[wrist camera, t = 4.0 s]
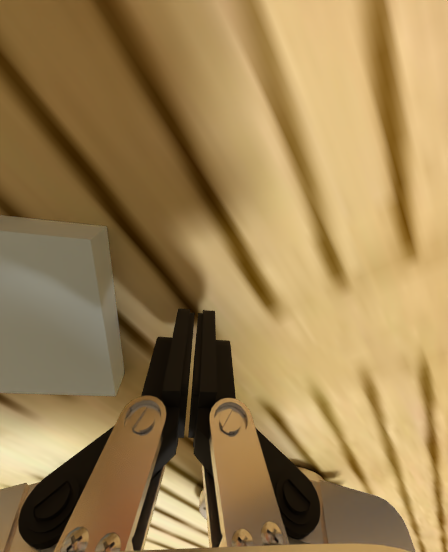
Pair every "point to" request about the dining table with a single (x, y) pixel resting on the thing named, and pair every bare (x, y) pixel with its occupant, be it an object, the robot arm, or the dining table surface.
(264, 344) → the dining table surface
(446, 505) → the dining table surface
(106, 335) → the pale grey flat panel
